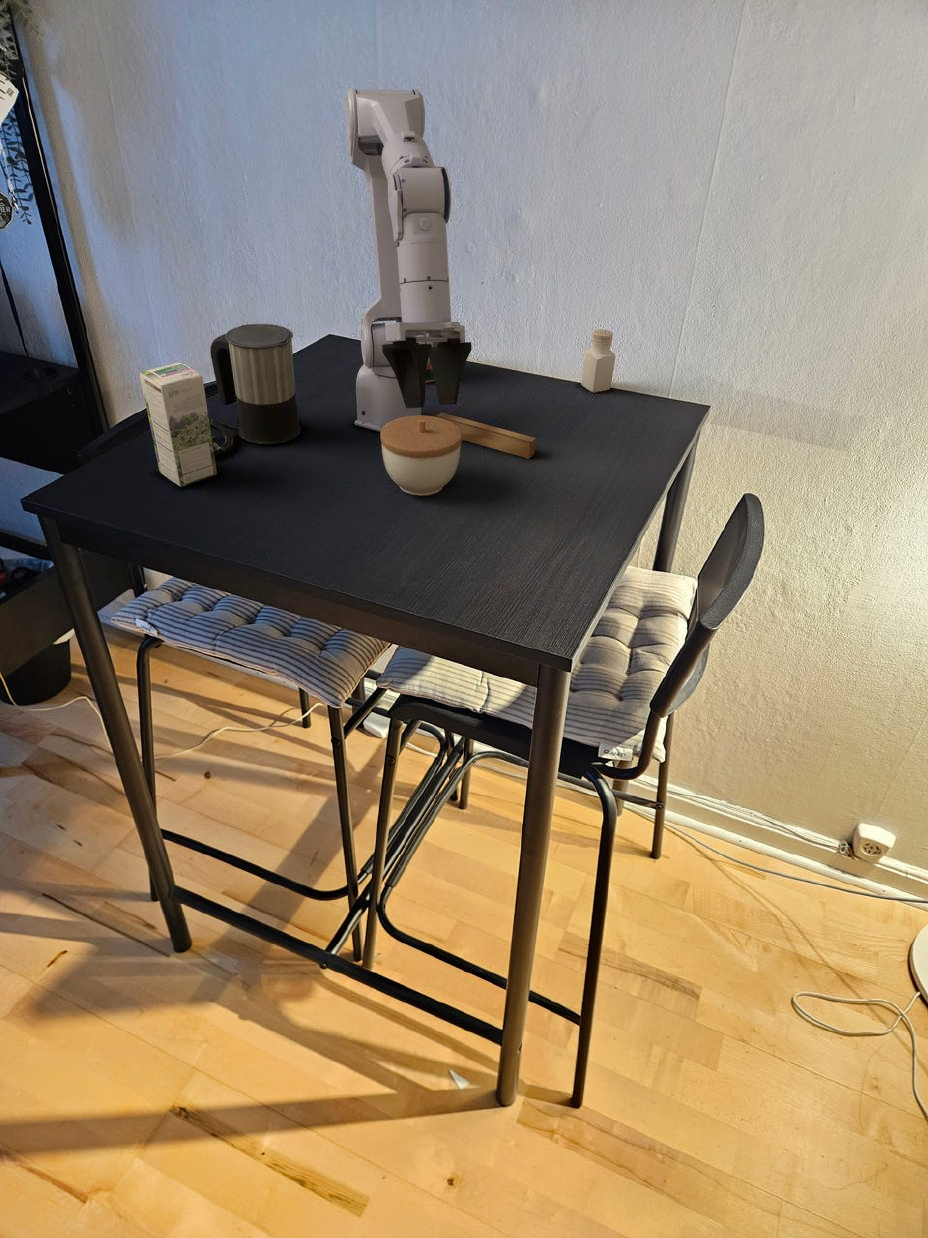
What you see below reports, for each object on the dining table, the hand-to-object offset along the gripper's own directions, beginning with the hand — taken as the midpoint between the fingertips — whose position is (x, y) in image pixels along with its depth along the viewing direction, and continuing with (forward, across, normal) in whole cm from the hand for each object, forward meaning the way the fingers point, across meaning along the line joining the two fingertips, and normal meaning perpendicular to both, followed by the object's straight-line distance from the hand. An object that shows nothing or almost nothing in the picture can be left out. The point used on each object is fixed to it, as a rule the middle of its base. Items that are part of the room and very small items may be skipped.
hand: (432, 406), depth 99 cm
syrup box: (+8, -6, +36) cm, 37 cm away
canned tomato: (-4, +40, +27) cm, 49 cm away
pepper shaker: (0, +53, -1) cm, 53 cm away
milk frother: (+4, +6, +36) cm, 37 cm away
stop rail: (+6, +25, +6) cm, 26 cm away
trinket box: (+11, +9, +8) cm, 16 cm away
